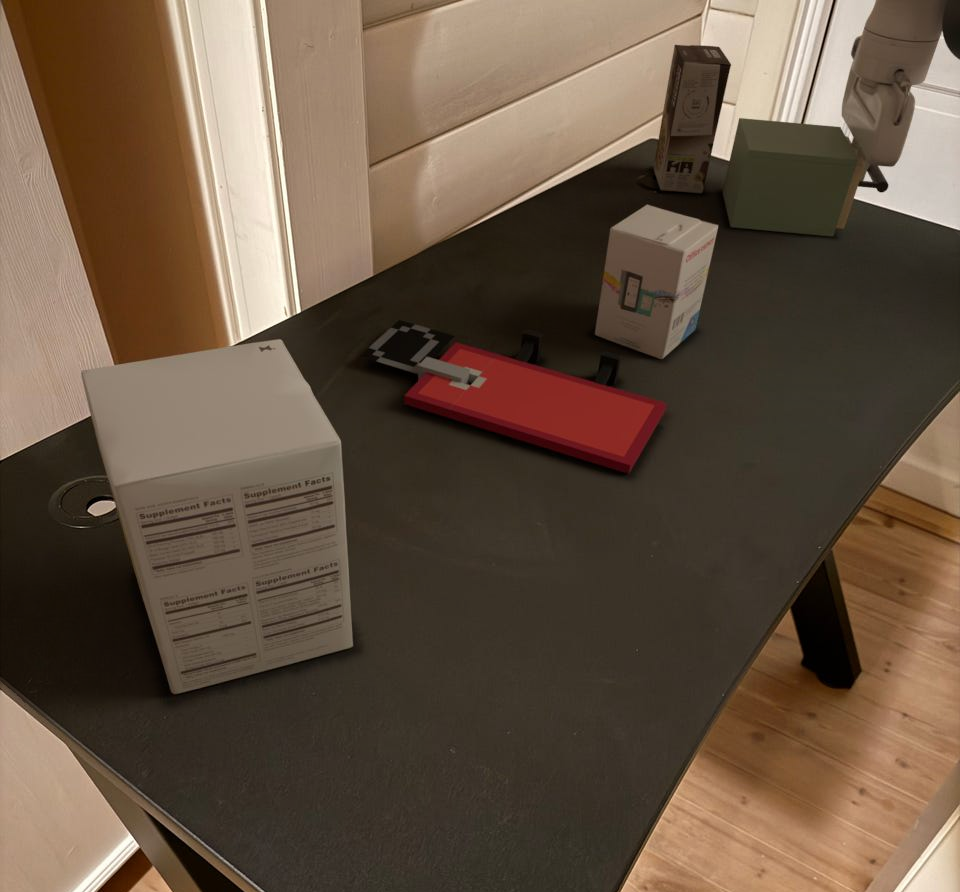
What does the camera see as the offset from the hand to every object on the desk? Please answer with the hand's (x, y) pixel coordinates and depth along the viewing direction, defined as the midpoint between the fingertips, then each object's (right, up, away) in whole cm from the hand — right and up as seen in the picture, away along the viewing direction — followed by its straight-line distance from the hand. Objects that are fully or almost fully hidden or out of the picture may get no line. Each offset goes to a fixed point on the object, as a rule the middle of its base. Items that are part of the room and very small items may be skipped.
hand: (853, 178), depth 124 cm
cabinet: (-9, -3, +4) cm, 10 cm away
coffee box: (-21, +5, +11) cm, 24 cm away
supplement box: (-67, -59, -55) cm, 105 cm away
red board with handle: (-47, -37, -32) cm, 68 cm away
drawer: (-5, -3, +3) cm, 7 cm away
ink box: (-32, -28, -22) cm, 48 cm away
